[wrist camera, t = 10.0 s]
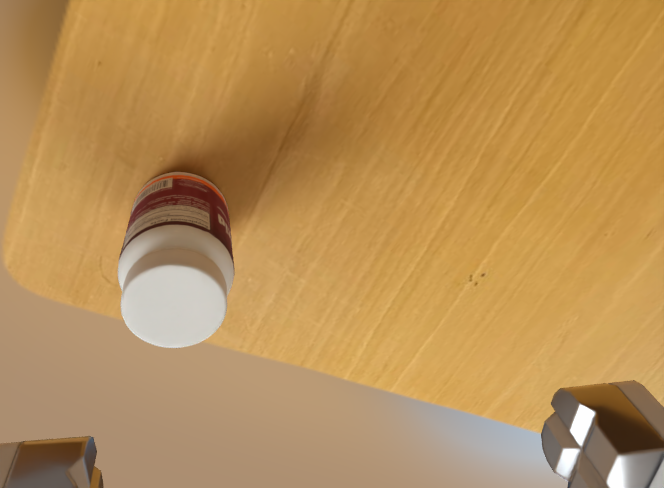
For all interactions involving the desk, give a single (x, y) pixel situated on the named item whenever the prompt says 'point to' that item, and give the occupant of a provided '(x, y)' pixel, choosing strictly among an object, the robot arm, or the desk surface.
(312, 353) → the desk surface
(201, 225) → the pill bottle
